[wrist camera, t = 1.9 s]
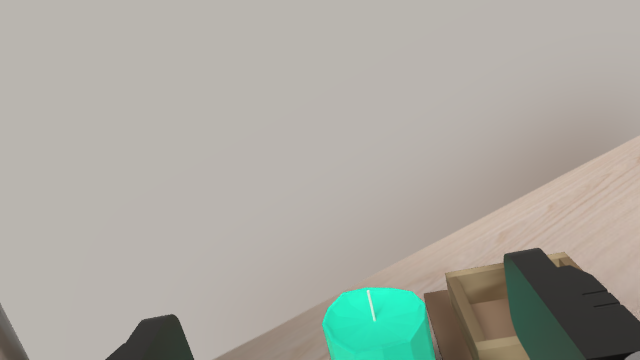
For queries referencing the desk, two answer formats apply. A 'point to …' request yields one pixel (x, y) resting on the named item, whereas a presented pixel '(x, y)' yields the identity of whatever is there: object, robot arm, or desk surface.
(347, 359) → the candle
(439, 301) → the candle holder
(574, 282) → the robot arm
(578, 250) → the desk surface
